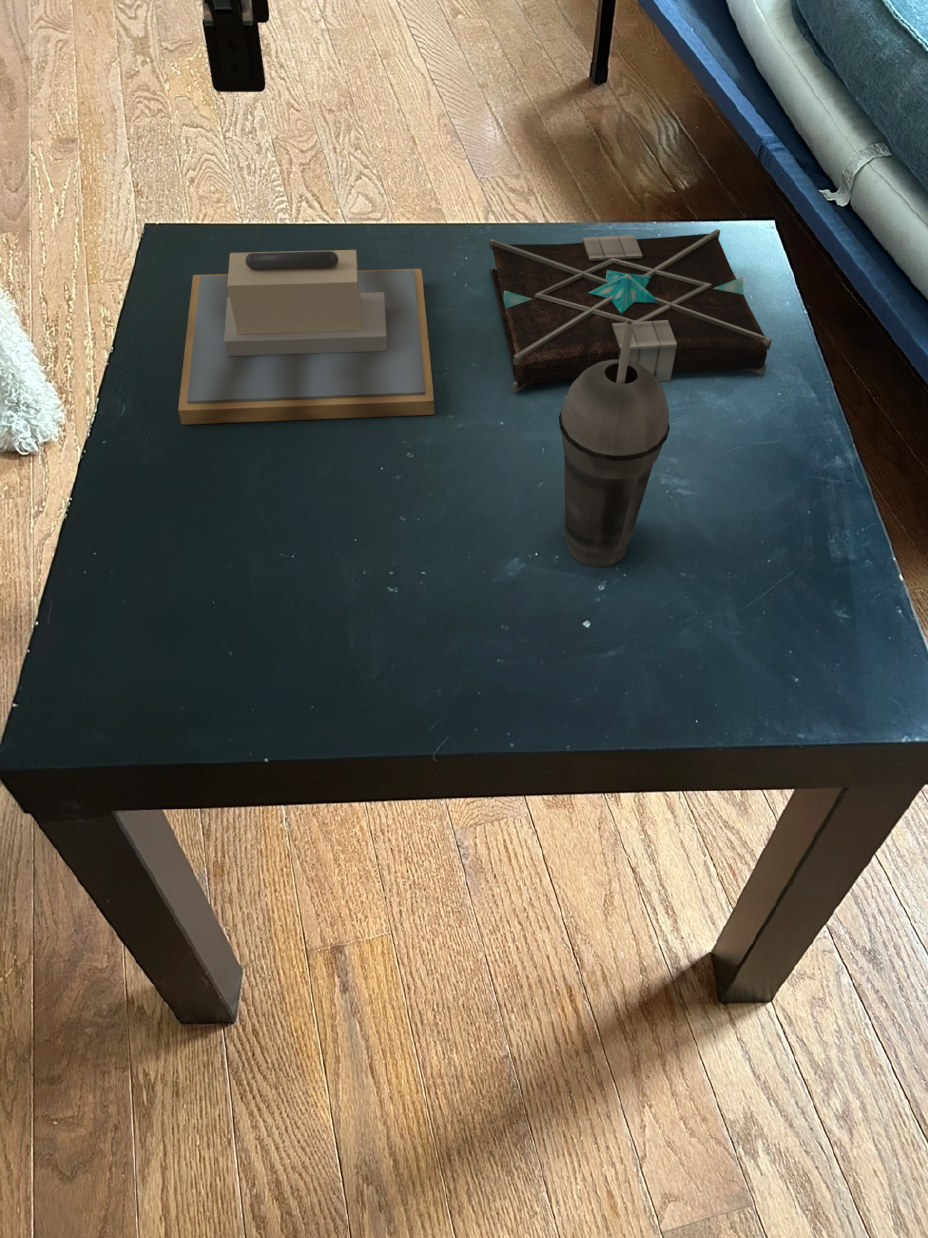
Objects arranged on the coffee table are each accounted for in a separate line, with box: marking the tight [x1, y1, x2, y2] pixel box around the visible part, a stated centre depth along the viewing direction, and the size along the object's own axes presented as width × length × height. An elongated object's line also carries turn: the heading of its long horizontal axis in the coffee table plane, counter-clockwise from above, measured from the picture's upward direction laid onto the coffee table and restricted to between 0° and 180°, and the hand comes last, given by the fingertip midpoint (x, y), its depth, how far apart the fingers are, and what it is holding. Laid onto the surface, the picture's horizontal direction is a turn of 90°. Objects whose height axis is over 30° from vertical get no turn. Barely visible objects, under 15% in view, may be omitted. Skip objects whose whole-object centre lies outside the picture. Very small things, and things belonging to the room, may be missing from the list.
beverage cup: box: [558, 320, 671, 568], centre depth 73 cm, size 7×7×20 cm
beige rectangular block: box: [224, 249, 388, 356], centre depth 89 cm, size 13×6×7 cm, turn 96°
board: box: [177, 268, 436, 426], centre depth 93 cm, size 20×18×2 cm
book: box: [488, 228, 773, 394], centre depth 95 cm, size 22×17×5 cm
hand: (243, 54), depth 72 cm, fingers open, 9 cm apart
